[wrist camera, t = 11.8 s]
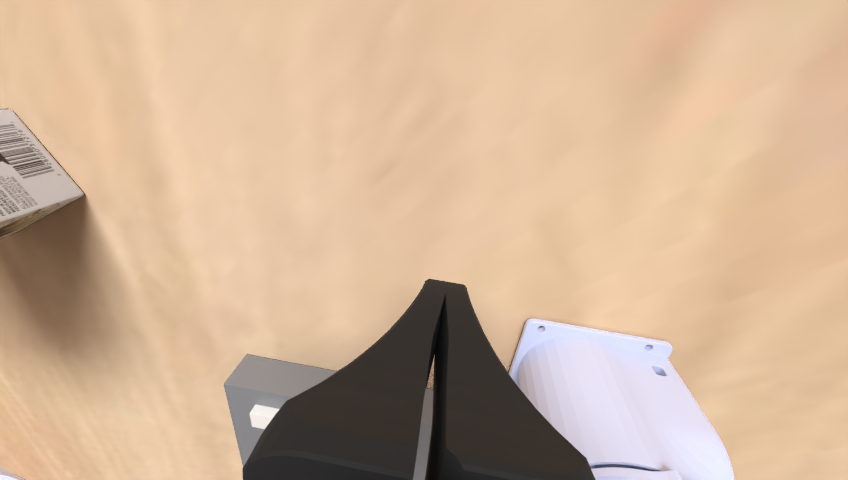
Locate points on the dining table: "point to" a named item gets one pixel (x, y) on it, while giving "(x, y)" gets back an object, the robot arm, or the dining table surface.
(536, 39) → the dining table surface
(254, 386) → the socket plate
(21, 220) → the coffee box
